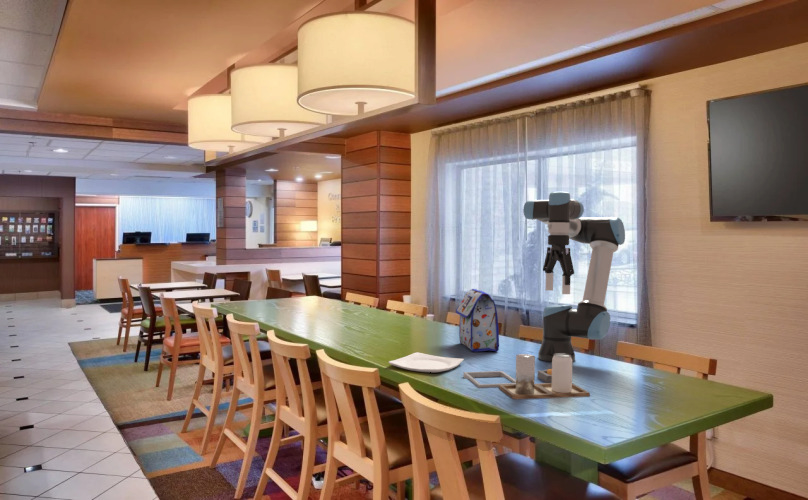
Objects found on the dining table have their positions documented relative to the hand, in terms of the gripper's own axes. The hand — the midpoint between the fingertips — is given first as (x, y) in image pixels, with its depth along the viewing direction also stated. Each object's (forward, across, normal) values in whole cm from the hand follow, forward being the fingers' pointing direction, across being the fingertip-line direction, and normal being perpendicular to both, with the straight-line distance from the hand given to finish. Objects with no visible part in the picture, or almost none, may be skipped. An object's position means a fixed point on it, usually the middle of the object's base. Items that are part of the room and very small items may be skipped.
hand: (557, 292), depth 207 cm
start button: (+31, +6, -4) cm, 32 cm away
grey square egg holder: (+32, +6, -4) cm, 33 cm away
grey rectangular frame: (+32, +3, -26) cm, 41 cm away
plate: (+32, -25, -43) cm, 59 cm away
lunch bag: (+32, -58, -11) cm, 67 cm away
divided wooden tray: (+32, +20, -14) cm, 40 cm away
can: (+31, +20, -8) cm, 38 cm away
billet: (+31, +20, -20) cm, 42 cm away
